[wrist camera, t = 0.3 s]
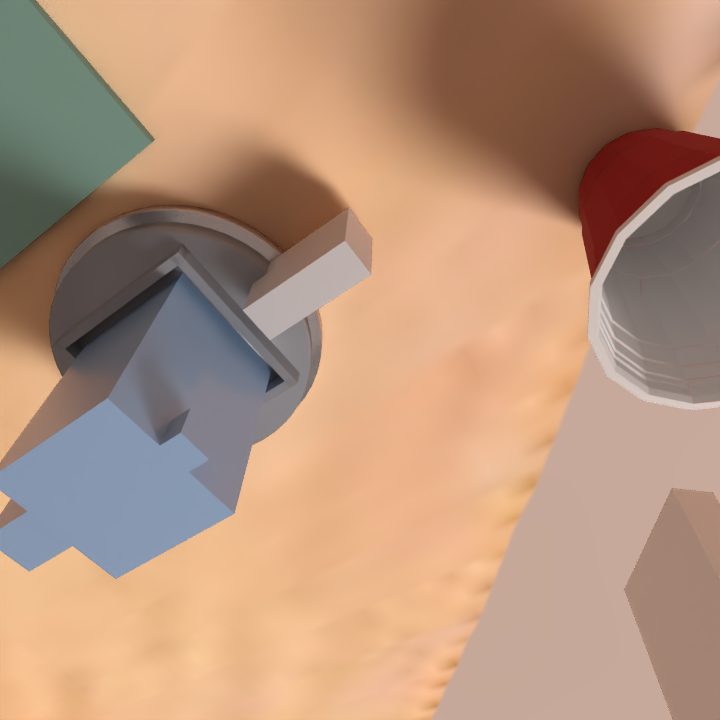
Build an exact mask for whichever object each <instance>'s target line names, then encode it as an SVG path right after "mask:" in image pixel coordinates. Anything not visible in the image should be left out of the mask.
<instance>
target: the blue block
mask: <svg viewBox="0 0 720 720" xmlns="http://www.w3.org/2000/svg"><path fill="white" fill-rule="evenodd" d="M270 373H271V368H270V367H269V366H268V364H267V363H266V362H265V361H264V360H263V359H262V358H261V357H260V356H259V355H258V354H257V353H256V352H255V350H254V349H253V348H252V347H251V346H250V345H249V344H248V343H247V342H246V341H245V340H244V339H243V337H242V336H241V335H240V334H239V333H238V332H237V331H236V330H235V329H234V328H233V327H232V326H231V325H230V323H229V322H228V321H227V320H226V319H225V318H224V317H223V316H222V315H221V314H220V313H219V312H218V310H217V309H216V308H215V307H214V306H213V305H212V304H211V303H210V302H209V301H208V300H207V299H206V298H205V296H204V295H203V294H202V293H201V292H200V291H199V290H198V289H197V288H196V287H195V286H194V285H193V283H192V282H191V281H190V280H189V279H188V278H187V277H186V276H185V275H184V274H183V273H182V274H180V275H179V276H177V277H176V278H175V279H173V280H172V281H171V282H169V283H168V284H166V285H165V286H164V287H162V288H161V289H160V290H158V291H157V292H156V293H154V294H153V295H151V296H150V297H149V298H147V299H146V300H145V301H143V302H142V303H141V304H139V305H138V306H136V307H135V308H134V309H132V310H131V311H130V312H128V313H127V314H125V315H124V316H123V317H121V318H120V319H119V320H117V321H116V322H115V323H113V324H112V325H110V326H109V327H108V328H106V329H105V330H104V331H102V332H101V333H99V334H98V335H97V336H95V337H94V338H93V339H91V340H90V341H89V342H88V343H87V344H86V345H85V347H84V348H83V350H82V351H81V352H80V354H79V355H78V356H77V358H76V359H75V361H74V362H73V363H72V365H71V366H70V367H69V369H68V370H67V371H66V373H65V374H64V376H63V377H62V378H61V380H60V381H59V382H58V384H57V385H56V387H55V388H54V389H53V391H52V392H51V393H50V395H49V396H48V397H47V399H46V400H45V402H44V403H43V404H42V406H41V407H40V408H39V410H38V411H37V413H36V414H35V415H34V417H33V418H32V419H31V421H30V422H29V424H28V425H27V426H26V428H25V429H24V430H23V432H22V433H21V434H20V436H19V437H18V439H17V440H16V441H15V443H14V444H13V445H12V447H11V448H10V450H9V451H8V452H7V454H6V455H5V456H4V458H3V459H2V460H1V462H0V490H1V491H2V492H3V493H4V494H6V495H7V496H8V497H10V498H11V499H10V501H9V502H8V504H7V505H6V507H5V508H4V510H3V511H2V513H1V514H0V551H2V552H3V553H4V554H6V555H7V556H8V557H10V558H11V559H13V560H14V561H15V562H17V563H18V564H20V565H21V566H22V567H24V568H25V569H27V570H28V571H31V570H33V569H34V568H36V567H38V566H39V565H41V564H43V563H45V562H46V561H48V560H50V559H51V558H53V557H55V556H56V555H58V554H60V553H61V552H63V551H65V550H67V549H68V548H70V547H72V546H74V547H75V548H76V549H77V550H79V551H80V552H81V553H83V554H84V555H85V556H87V557H88V558H89V559H90V560H92V561H93V562H94V563H96V564H97V565H98V566H100V567H101V568H102V569H104V570H105V571H106V572H107V573H109V574H110V575H111V576H113V577H114V578H115V579H117V578H118V577H120V576H122V575H124V574H126V573H127V572H129V571H131V570H133V569H135V568H137V567H138V566H140V565H142V564H144V563H146V562H147V561H149V560H151V559H153V558H155V557H157V556H158V555H160V554H162V553H164V552H166V551H167V550H169V549H171V548H173V547H175V546H176V545H178V544H180V543H182V542H184V541H186V540H187V539H189V538H191V537H193V536H195V535H196V534H198V533H200V532H202V531H204V530H206V529H207V528H209V527H211V526H213V525H215V524H216V523H218V522H220V521H222V520H224V519H225V518H227V517H229V516H231V515H233V514H234V513H235V509H236V505H237V501H238V498H239V494H240V490H241V486H242V482H243V478H244V474H245V470H246V466H247V463H248V459H249V455H250V451H251V447H252V443H253V439H254V435H255V431H256V427H257V424H258V420H259V416H260V412H261V408H262V404H263V400H264V396H265V392H266V389H267V385H268V381H269V377H270Z"/></svg>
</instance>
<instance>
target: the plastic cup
mask: <svg viewBox="0 0 720 720" xmlns="http://www.w3.org/2000/svg"><path fill="white" fill-rule="evenodd" d="M579 215H580V219H581V223H582V236H583V241H584V246H585V250H586V255H587V260H588V264H589V269H590V274H591V278H592V279H591V281H590V291H589V311H588V333H587V337H588V339H589V341H590V343H591V345H592V347H593V349H594V351H595V353H596V355H597V357H598V359H599V361H600V364H601V365H602V368H603V370H604V372H605V373H606V376H608V377H609V378H611V379H612V380H614V381H615V382H616V383H618V384H619V385H621V386H622V387H624V388H625V389H627V390H628V391H629V392H631V393H632V394H634V395H635V396H637V397H638V398H640V399H641V400H642V401H647V402H652V403H657V404H662V405H667V406H672V407H677V408H682V409H687V410H696V409H706V408H714V407H720V139H719V138H714V137H710V136H705V135H700V134H695V133H691V132H686V131H678V132H674V131H669V130H664V129H660V128H656V129H649V130H642V131H635V132H630V133H627V134H625V135H623V136H621V137H620V138H618V139H616V140H614V141H612V142H610V143H609V144H607V145H605V147H604V148H603V149H602V150H601V151H600V152H599V153H598V154H597V155H596V156H595V157H594V158H593V160H592V161H591V162H590V163H589V165H588V167H587V169H586V172H585V174H584V177H583V179H582V181H581V184H580V188H579Z"/></svg>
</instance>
